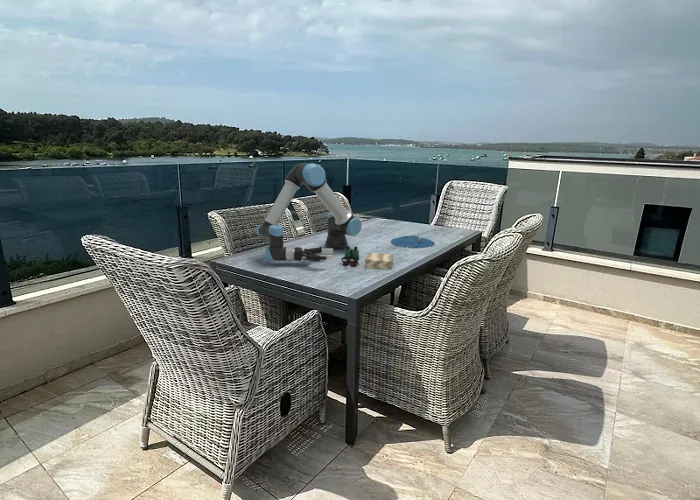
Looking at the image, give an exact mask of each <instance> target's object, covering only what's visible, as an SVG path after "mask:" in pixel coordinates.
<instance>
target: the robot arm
mask: <svg viewBox="0 0 700 500" xmlns="http://www.w3.org/2000/svg"><path fill="white" fill-rule="evenodd" d="M327 180H328V179H327V178H326V171H325V169H324V168H323V167H322V166H321V165H319V164H316V163H306V162H300V163H298V164H295V165H294V166H293V167H292V169H291V170H289V172H288V174H287V176H286V177H285V179H284V185H283V187H282V188H281V191H280V192H279V194H278V196H277V198H276V200H275V201H274V203H273V205H272V207H271V208H270V210H269V212H268V213H267V216H266V217H265V219H264V221H263V222H262V223H260V224H259V225H258V226H257V227H256V234H257V235H258V236H259V237H260V238H261V239H265V240H267V241H268V243H269V246H267V247H266V248H265V259H266V260H267V261H274V262H277V261H279V262H280V261H283V262H284V261H287V262H291V261H295V262H296V261H297V262H298V261H299V262H301V261H302V260H304V261H305V260H306V261H313V262H316V263H317V262H318V263H320V262H321V261H333V259H334V258H333V257H334V256H333V254H334V250H345V249H347V248H346V246H347V245H348V246H349V242H348V239H347V236H349V237H355V236H357V235H358V234H359V233H360V232H361V230H362V226H363V225H362V220H361V219H360V218H359V217H355V215H354V214H353V213H352V211H350V210H348V209H346V207H344V205H343V203H342V202H341V201H340V199H339V198H338V197H337V195H336V194H335V193H334V191H333V189H331V187H330V186H329V184H328V183H327ZM303 185H304V186H305V187H306V188H307V189H308V190H309V192H312V193H315V195H316V196H317V198H319V200H320V201H321V203H323V205H324V207H325V208H326V209H327V210H328V211H329V212H328V214H327V216H326V217H327V237H326V239H325V243H324V247H325V248H323V247H322V246H319V247H313V248H304V249H303V248H302V247H301V246H296V247H294V246H284V229H283V227H284V226H282V225H279V223H280V221H281V219H282V217H283V216H284V214H285V213H286V210H287V208H288V207H289V205H290V203H291V201H292V199H294V198H293V197H294V195H295V194H296V192H297V190H300V189H301V187H302V186H303ZM346 235H347V236H346ZM319 254H320V255H319Z"/></svg>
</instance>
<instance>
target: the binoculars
mask: <svg viewBox="0 0 700 500" xmlns="http://www.w3.org/2000/svg"><path fill="white" fill-rule="evenodd" d="M359 253H360V251H359V249H358V246H357V245H356V246H354V247H353V249H352V248H351V245H349V244H348V245H347V246H346V248H345V249H344V256H343V257H342V258H341V262H342V265H343V266H344V267H348V266H349V265H350V267H352V268H353V267H354V268H355V267H357V265H358V264H359V261H360V254H359Z"/></svg>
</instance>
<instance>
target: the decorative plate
mask: <svg viewBox="0 0 700 500" xmlns="http://www.w3.org/2000/svg"><path fill="white" fill-rule="evenodd" d="M390 242H391V244H394V246H395V247H401V248H407V249H424V248H427V247H430V246H434V245H435V241H433V240H431V239H429V238H424V237H420V236H417V235H415V234H412V235H403V236H398V237H395V238H392V239H391V240H390Z"/></svg>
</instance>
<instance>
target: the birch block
mask: <svg viewBox="0 0 700 500" xmlns="http://www.w3.org/2000/svg"><path fill="white" fill-rule="evenodd" d="M393 265H394V254H389V253H377V252H376V253H374V252H373V253H372V252H369V253H368V254H367V256H366V259H365V266H364V267H365V269H374V270H375V269H376V270H387V269H389V271H391V270H392V268H393Z"/></svg>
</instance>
